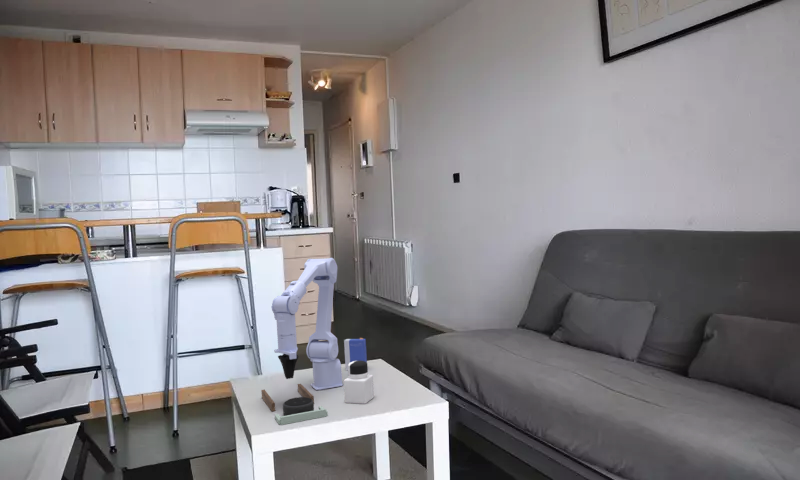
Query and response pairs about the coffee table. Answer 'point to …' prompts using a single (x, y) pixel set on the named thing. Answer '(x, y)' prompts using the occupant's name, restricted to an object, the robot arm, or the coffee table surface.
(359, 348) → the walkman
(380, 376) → the coffee table surface
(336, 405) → the coffee table surface
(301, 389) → the chute
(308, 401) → the smart speaker
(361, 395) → the medicine bottle
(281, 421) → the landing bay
